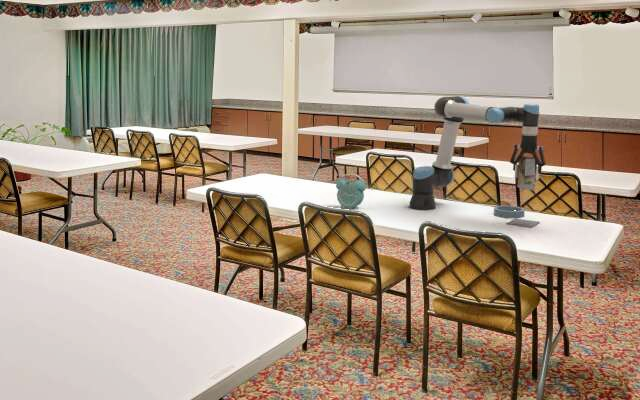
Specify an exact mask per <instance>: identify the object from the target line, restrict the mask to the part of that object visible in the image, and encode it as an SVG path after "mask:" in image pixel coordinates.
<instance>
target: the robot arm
mask: <svg viewBox="0 0 640 400" xmlns="http://www.w3.org/2000/svg"><path fill="white" fill-rule="evenodd" d="M433 108H434V113H435V114H436V115H437V116H438V117H440V118H442V120H443V121H444V123H443V127H442V131H441V136H440V141H439V144H438V145H439V146H438V149H437V150H438V151H437V155H436V160H435V161H434V162H432V164H431V166H430V165H429V166H428V165H424V166H417V167H416V168H415V169H414V170H413V176H412V178H413V179H412V196H411V198H410V201H409V206H408V207H409V208H410V209H413V210H418V211H420V210H421V211H430V210H431V211H432V210H435V209H436V208H437V204H436V200H435V197H434V189H438V188H444V187H448V186H450V185H451V184H452V183H453V182H454V179H455V172H454V169H453V165H452V164H451V163H452V159H453V155H454V151H455V146H456V141H457V137H458V132H459V129H460V125H461V124H462V123H463V122H464V119H470V120H477V121H481V122H482V121H483V122H489V123H490V124H499V123H501V124H502V123H522V129H521V134H522V135H521V140H520V141H521V142H520V144H515V145H514V150H513V153H512V155H511V158H510V160H509V163H510V164H512V165H513V166H512V167H513V168H512V170H513V172H514V176H513V177H514V178H518V165H519V159H520V157H522V156H523V155H524V154H529V155H532V157H534V158H537V168H536V181H537V180H540V174H541V173H542V168H543V167H544V166H546V164H547V163H546V159H545V155H544V146H543V145H541V146H540V145H538V133H539V118H540V105H539V104H538V103H524V104H523V107H522V106H521V107H520V106H519V107H518V106H517V107H516V106H505V107H495V106H487V105H477V104H470V101H468V99H467V98H466V97H464V96H458V95H455V96H442V97H440V98H438V99H437V100H436V101H435V103H434V107H433ZM519 149H521V151H520V153H519V154H518V155H517V153H518V151H519ZM536 150H538V153H539V156H538V154H537V151H536Z"/></svg>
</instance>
